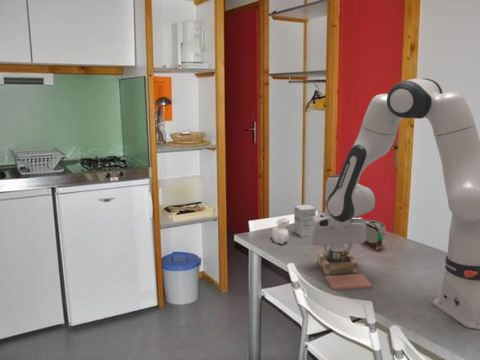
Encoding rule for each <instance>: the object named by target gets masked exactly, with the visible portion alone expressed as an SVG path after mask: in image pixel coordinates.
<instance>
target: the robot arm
mask: <svg viewBox="0 0 480 360" xmlns="http://www.w3.org/2000/svg"><path fill="white" fill-rule="evenodd" d="M423 118H425V119H427V120H428V121H429V123H430V125H431V128H432V132H433V136H434V139H435V142H436V146H437V149H438V150H437V151H438V153H439V158H440V161H441V165H442V173H443V181H444V186H445V193H446V198H447V204H448V208H449V211H450V213H451V221H450V226H449V230H448V244H447V245H448V246H447V255H446V257H445V260H444V268H445V272H443V273H444V274H443V275H442V276H441V277H440V281H439V286H438V287H439V288H438V293H437V298H435V299H434V300H433V306H435V307H436V308H438V309H439V310H441V311H442V312H443V313H445V314H446V315H448V316H449V317H451V318H452V319H454V320H456V321H457V322H458V323H460V324H461V325H463V326H464V327H466V328H468V329H473V328H474V330H480V137H479V132H478V129H477V126H476V122H475V119H474V116H473V112H472V111H471V109H470V106H469V104H468V101H467V100H466V98H465V97H464V96H463V94H461V93H459V92H456V91H448V92H443V90H442V87H441V86H440V84H439V83H438V82H437V81H435V80H433V79H430V78H411V79H407V80H402V81H400V82H397V83H396V84H395V85H394V86H392V88H391V89H390V90H389V91H388V93H380V94H376V95H375V96H374V97H373V98H372V99H371V101H370V103H369V104H368V107H367V109H366V111H365V114H364V117H363V119H362V123H361V127H360V129H359V132H358V134H357V135H358V136H357V138H356V140H355V142H354V144H353V145H352V147H351V149H350V150H349V152H348V153H347V156H346V157H345V158H346V159H345V160H344V163H343V165H342V168H341V171H340V174H333V175H331V176H330V175H329V177H328V178H327V180H326V183H325V202H326V206H325V209H324V211H325V212H322V213H320V214H319V213H318V214H316V216H314V217H313V218H312V220H313V224H312V225H311V227H310V234H309V236H308V237H309V238H308V241H309V243H310V244H311V245H312V246H322V248H323V250H324V253H325V255H326V256H330V251H329V249H328V248H327V247H328V246H329V245H330V246H332V244H335V243H343V244H344V245H348V246H347V248H345V255H350V254H351V250H352V249H353V247H354V244H362V243H364V242H365V241H366V232H365V228H366V220H367V219H365V218H363V217H359V216H362V215H365V214H368V213H370V212H372V211H373V210H374V209H375V206H376V194H375V193H374V192H373V190H372V189H371V187H368V186H365V185H362V184H360V183H359V182H360V178H361V177H362V176H361V175H362V174H363V172H364V170H365V169H367V167H368V166H370V165H371V164H372V163H374V162H375V161H376V160H378V159H380V158H382V157H384V156H385V155H386V154H388V153H389V152H390V150H391V148H392V147H393V145H394V143H395V140H396V137H397V133H398V129H399V126H400V123H401V121H402V120H403V119H418V120H419V119H423Z"/></svg>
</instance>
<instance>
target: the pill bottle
mask: <svg viewBox="0 0 480 360" xmlns="http://www.w3.org/2000/svg"><path fill="white" fill-rule="evenodd" d="M344 245H345V244H343V243H335V244H332V245H330V247H329V249H328V250H329V251H330V256H329V263H334V262H345V249H346V247H345V246H344Z"/></svg>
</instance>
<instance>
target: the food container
mask: <svg viewBox="0 0 480 360" xmlns="http://www.w3.org/2000/svg"><path fill="white" fill-rule="evenodd" d="M365 220H366V228H365V232H366V241H365V242H364V243H361V244H362V245H363V246H364V247H367V248H369V249H371V250H373V251H375V252H379V251H381V250H382V247H383V240H384V239H383V238H384V232H386V226H385V224H384V223H383V222H382V221H378V220H373V219H365Z"/></svg>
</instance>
